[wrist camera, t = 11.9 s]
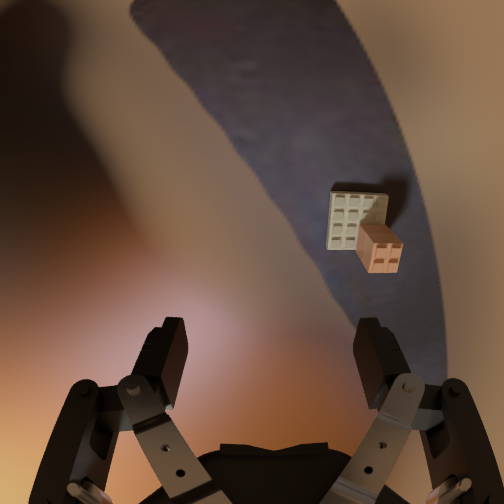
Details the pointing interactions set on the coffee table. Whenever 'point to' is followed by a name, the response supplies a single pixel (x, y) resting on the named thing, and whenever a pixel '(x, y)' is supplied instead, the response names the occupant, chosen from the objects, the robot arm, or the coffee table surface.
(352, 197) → the stud plate
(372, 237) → the brick stack
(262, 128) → the coffee table surface
